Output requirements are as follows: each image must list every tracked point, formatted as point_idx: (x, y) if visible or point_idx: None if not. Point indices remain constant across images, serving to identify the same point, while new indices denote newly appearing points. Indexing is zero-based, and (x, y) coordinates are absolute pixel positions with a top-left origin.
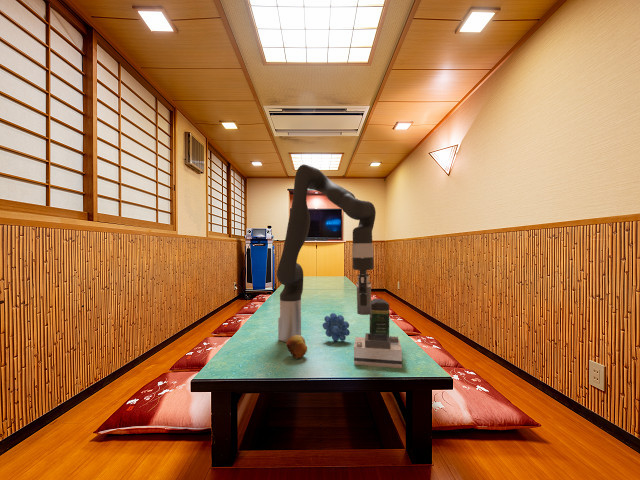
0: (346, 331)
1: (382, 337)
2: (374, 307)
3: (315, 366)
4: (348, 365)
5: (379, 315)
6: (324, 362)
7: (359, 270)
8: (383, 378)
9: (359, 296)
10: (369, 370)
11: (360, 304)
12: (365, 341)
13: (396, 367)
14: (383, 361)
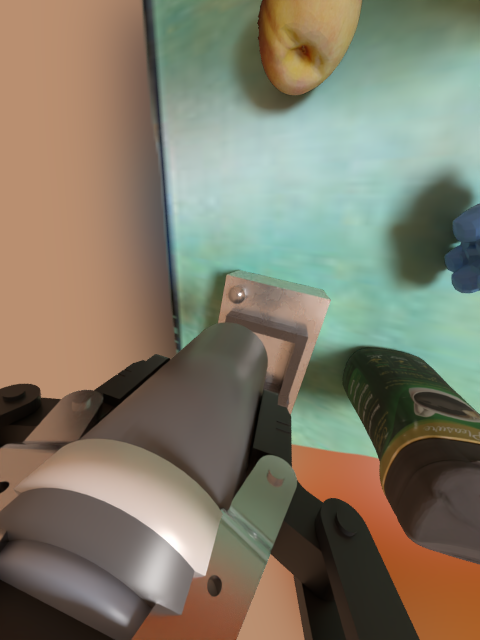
0: (462, 277)
1: (282, 381)
2: (417, 460)
3: (228, 152)
4: (234, 254)
5: (385, 443)
6: (255, 182)
7: None
8: (173, 320)
9: (144, 383)
10: (207, 301)
11: (155, 354)
12: (227, 316)
13: None
14: None
